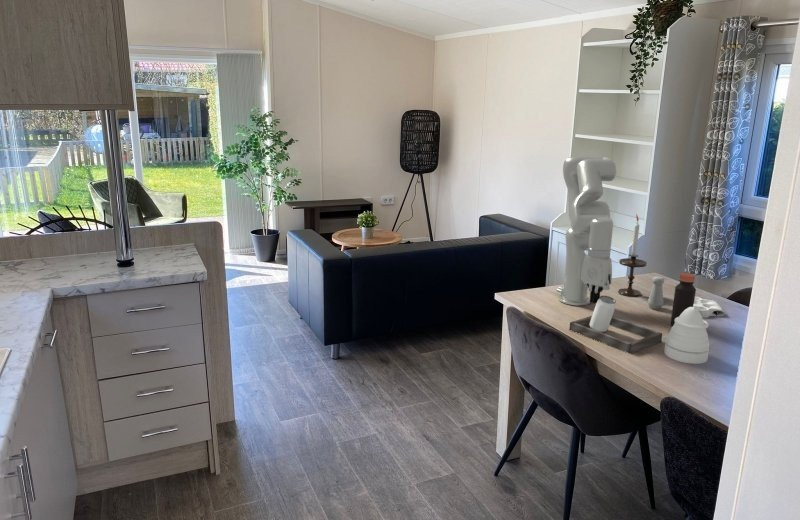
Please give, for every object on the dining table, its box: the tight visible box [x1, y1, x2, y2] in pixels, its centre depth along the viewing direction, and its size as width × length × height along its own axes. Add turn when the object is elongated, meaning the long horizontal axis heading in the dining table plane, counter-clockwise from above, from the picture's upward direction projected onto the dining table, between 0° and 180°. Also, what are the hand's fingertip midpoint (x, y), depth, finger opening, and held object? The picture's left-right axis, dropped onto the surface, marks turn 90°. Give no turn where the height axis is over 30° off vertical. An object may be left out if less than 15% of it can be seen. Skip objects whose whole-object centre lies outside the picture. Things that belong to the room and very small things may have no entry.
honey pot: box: [664, 304, 710, 365], centre depth 190 cm, size 13×13×18 cm
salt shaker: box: [647, 276, 665, 311], centre depth 235 cm, size 6×6×13 cm
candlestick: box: [618, 213, 647, 298], centre depth 250 cm, size 11×11×35 cm
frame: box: [568, 315, 663, 354], centre depth 207 cm, size 25×18×3 cm
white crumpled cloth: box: [694, 296, 726, 319], centre depth 234 cm, size 3×18×15 cm
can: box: [589, 295, 617, 333], centre depth 210 cm, size 6×6×12 cm
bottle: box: [669, 272, 697, 327], centre depth 214 cm, size 7×7×20 cm
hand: (594, 302), depth 212 cm, fingers closed
